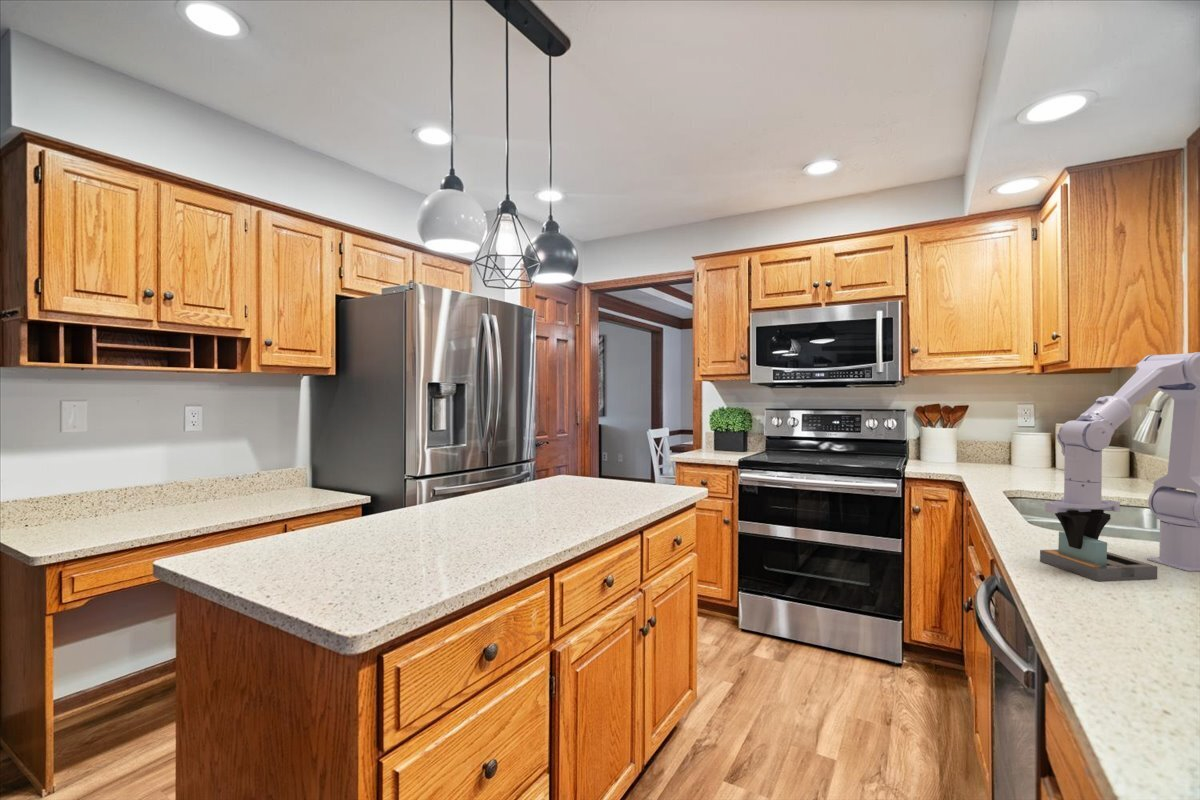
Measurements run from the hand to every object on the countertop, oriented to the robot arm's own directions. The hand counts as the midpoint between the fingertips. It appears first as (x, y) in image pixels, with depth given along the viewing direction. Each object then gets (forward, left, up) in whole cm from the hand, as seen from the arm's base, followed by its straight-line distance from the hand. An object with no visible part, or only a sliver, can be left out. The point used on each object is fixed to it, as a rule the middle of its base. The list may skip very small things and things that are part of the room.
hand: (1081, 547), depth 114 cm
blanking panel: (0, 0, -3) cm, 3 cm away
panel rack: (-3, 0, -5) cm, 6 cm away
